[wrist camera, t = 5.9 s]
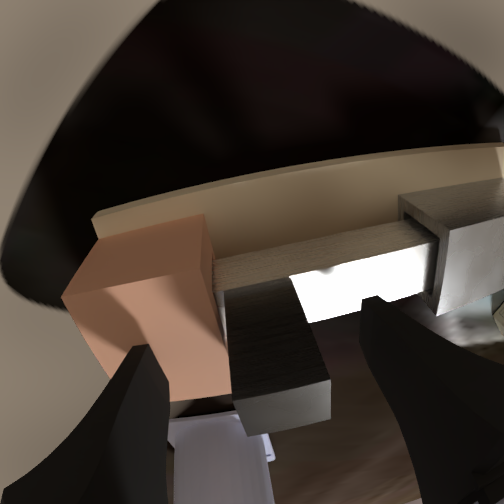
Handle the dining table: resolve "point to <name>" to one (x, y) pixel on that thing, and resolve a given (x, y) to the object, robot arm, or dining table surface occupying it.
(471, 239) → the grey sleeve
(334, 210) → the birch board
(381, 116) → the dining table surface
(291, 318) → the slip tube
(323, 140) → the dining table surface
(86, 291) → the socket block
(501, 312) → the skincare box
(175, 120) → the dining table surface
